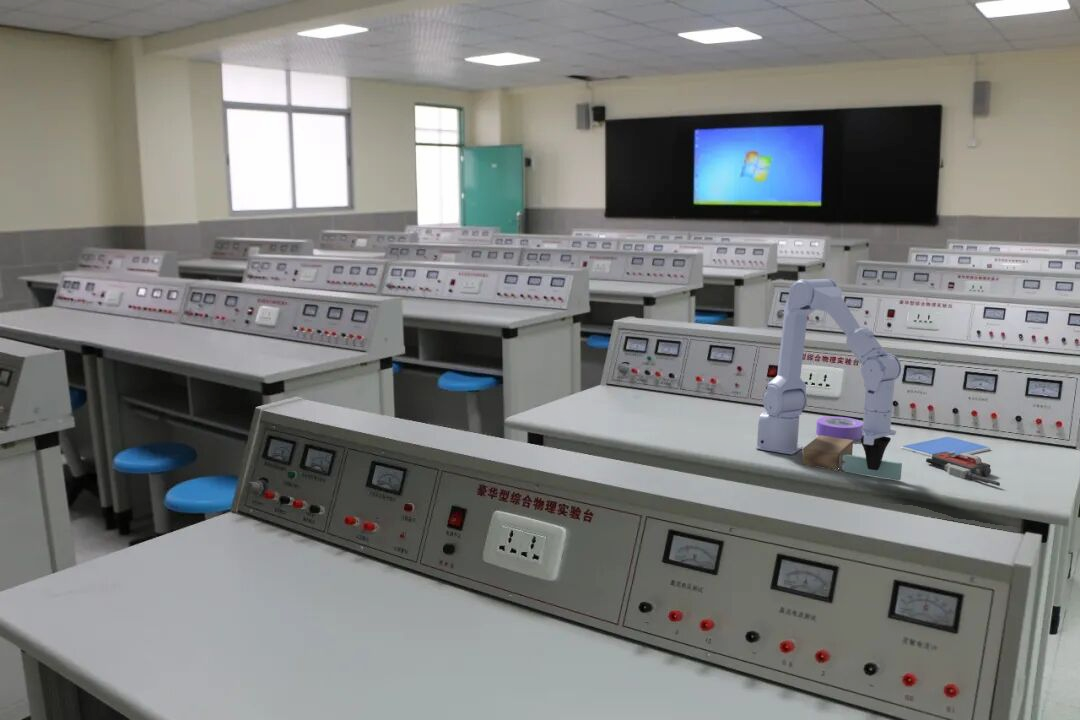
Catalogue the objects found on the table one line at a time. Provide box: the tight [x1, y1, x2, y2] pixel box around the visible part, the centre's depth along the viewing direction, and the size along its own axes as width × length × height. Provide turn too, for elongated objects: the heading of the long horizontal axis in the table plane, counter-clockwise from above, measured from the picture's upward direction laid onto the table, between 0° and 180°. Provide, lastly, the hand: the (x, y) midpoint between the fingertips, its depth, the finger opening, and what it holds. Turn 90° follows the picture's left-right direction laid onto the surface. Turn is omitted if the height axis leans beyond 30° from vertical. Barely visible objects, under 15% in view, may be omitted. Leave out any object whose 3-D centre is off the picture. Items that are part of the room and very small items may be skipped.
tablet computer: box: [900, 436, 991, 458], centre depth 221 cm, size 19×13×1 cm, turn 120°
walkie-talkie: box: [925, 451, 1001, 487], centre depth 200 cm, size 9×4×20 cm
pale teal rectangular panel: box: [842, 454, 903, 481], centre depth 198 cm, size 13×1×4 cm, turn 57°
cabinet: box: [801, 435, 854, 472], centre depth 209 cm, size 9×15×4 cm, turn 147°
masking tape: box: [815, 416, 863, 441], centre depth 234 cm, size 12×12×4 cm
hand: (873, 469), depth 195 cm, fingers closed
